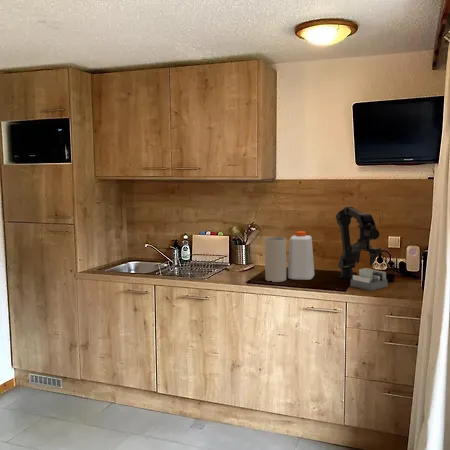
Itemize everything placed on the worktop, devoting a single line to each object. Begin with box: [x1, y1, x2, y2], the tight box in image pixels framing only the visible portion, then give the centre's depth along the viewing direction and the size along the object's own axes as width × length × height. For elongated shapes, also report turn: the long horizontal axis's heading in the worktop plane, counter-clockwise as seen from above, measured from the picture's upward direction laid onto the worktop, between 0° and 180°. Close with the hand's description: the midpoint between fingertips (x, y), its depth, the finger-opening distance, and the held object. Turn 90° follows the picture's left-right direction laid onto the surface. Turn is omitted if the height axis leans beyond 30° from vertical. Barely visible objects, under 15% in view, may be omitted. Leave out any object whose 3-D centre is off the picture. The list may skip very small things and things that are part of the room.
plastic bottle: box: [287, 230, 315, 281], centre depth 303 cm, size 15×15×28 cm
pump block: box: [358, 267, 374, 281], centre depth 276 cm, size 5×5×6 cm
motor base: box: [350, 269, 388, 292], centre depth 278 cm, size 14×14×8 cm
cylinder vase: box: [264, 236, 287, 283], centre depth 298 cm, size 12×12×25 cm
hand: (364, 264), depth 279 cm, fingers open, 9 cm apart
